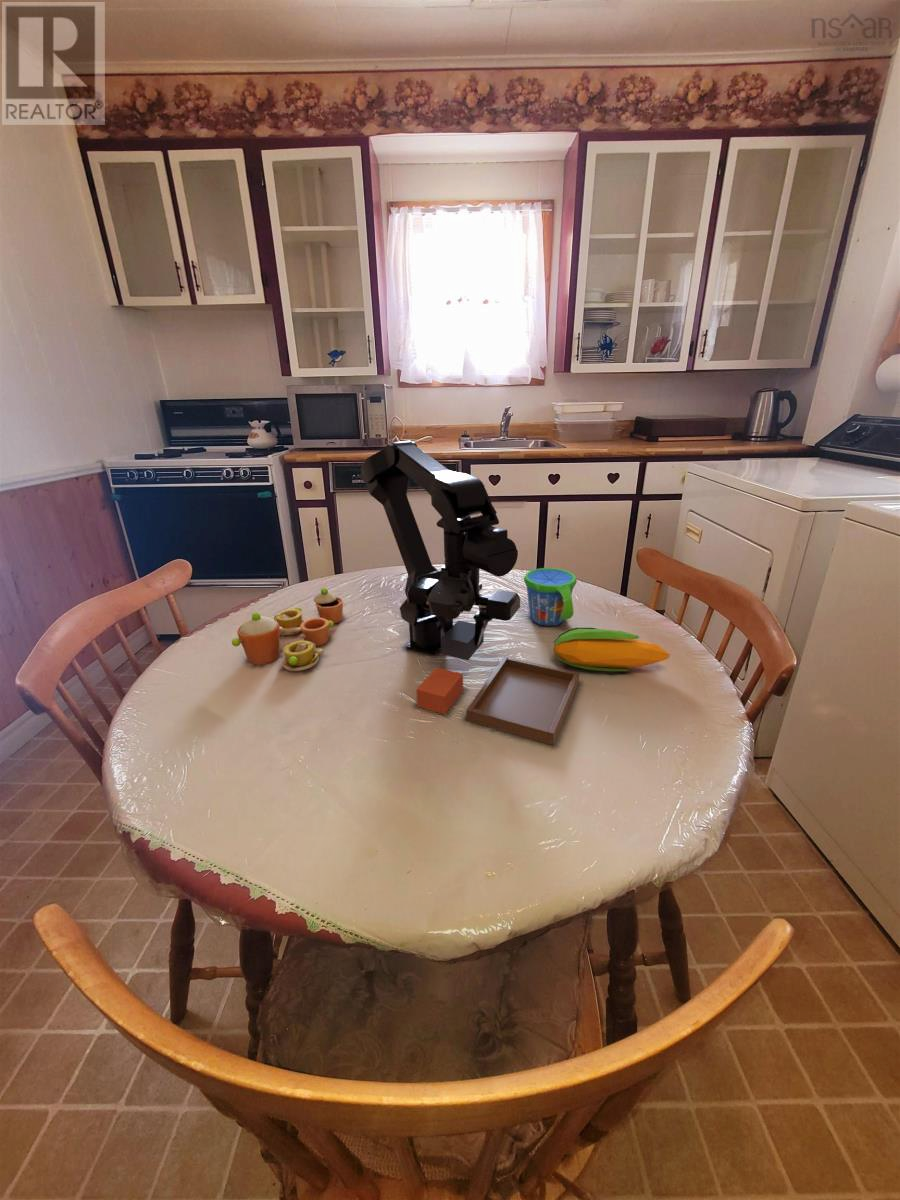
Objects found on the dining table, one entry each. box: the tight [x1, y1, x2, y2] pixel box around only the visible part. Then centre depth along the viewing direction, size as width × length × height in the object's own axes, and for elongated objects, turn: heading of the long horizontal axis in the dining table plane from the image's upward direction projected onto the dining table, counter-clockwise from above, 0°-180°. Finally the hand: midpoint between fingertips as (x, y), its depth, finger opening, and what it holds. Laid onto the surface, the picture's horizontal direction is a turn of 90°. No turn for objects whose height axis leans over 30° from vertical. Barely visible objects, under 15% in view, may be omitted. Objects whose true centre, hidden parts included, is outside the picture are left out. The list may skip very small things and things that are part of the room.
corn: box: [552, 627, 671, 672], centre depth 86 cm, size 7×8×20 cm
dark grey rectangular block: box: [441, 620, 485, 661], centre depth 85 cm, size 5×7×3 cm
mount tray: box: [466, 656, 580, 746], centre depth 79 cm, size 14×17×2 cm
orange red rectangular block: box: [416, 666, 464, 715], centre depth 80 cm, size 5×7×3 cm
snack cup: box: [523, 567, 578, 627], centre depth 103 cm, size 16×10×10 cm
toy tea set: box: [231, 587, 344, 672], centre depth 97 cm, size 26×16×10 cm, turn 173°
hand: (463, 641), depth 85 cm, fingers closed on dark grey rectangular block, 5 cm apart
